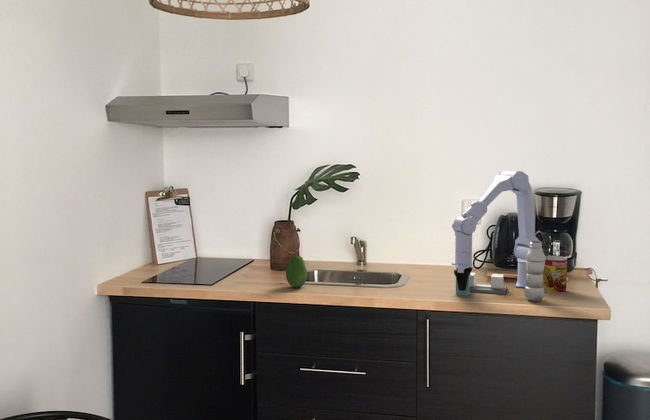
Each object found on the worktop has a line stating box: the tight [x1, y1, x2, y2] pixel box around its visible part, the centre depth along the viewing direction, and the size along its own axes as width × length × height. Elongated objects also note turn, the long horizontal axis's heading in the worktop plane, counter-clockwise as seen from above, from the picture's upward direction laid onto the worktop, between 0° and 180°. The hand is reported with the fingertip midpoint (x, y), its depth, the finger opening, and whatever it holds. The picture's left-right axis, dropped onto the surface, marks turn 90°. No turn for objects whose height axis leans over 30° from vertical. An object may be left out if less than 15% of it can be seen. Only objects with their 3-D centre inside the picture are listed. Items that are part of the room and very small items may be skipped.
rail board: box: [470, 271, 508, 295], centre depth 227 cm, size 16×9×6 cm, turn 70°
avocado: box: [285, 255, 308, 289], centre depth 233 cm, size 8×8×12 cm
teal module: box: [455, 274, 471, 297], centre depth 221 cm, size 4×4×7 cm
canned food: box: [543, 255, 568, 294], centre depth 224 cm, size 8×8×12 cm
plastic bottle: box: [524, 240, 546, 302], centre depth 211 cm, size 6×7×20 cm
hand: (463, 288), depth 222 cm, fingers closed on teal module, 4 cm apart
